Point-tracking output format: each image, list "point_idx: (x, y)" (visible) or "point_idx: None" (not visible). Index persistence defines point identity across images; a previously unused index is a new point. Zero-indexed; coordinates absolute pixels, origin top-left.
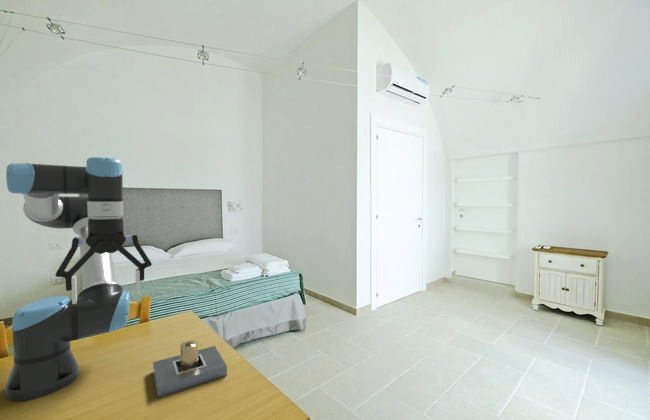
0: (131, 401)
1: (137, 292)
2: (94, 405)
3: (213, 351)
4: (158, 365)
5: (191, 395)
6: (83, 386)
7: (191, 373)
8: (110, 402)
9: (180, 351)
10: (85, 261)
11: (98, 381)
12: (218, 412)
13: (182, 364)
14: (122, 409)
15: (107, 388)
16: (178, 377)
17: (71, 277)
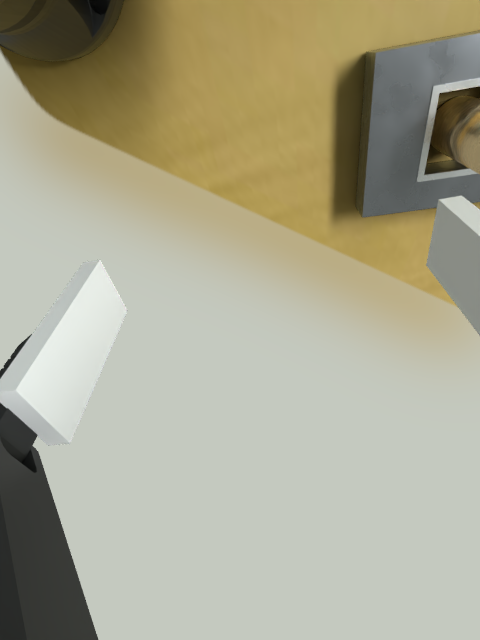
0: (303, 190)
1: (435, 269)
2: (229, 169)
3: None
4: (387, 92)
5: (419, 225)
6: (173, 43)
7: (450, 191)
8: (261, 173)
9: (466, 145)
10: (81, 606)
11: (209, 27)
12: (438, 292)
13: (447, 151)
14: (287, 212)
15: (243, 95)
16: (415, 196)
17: (33, 438)
